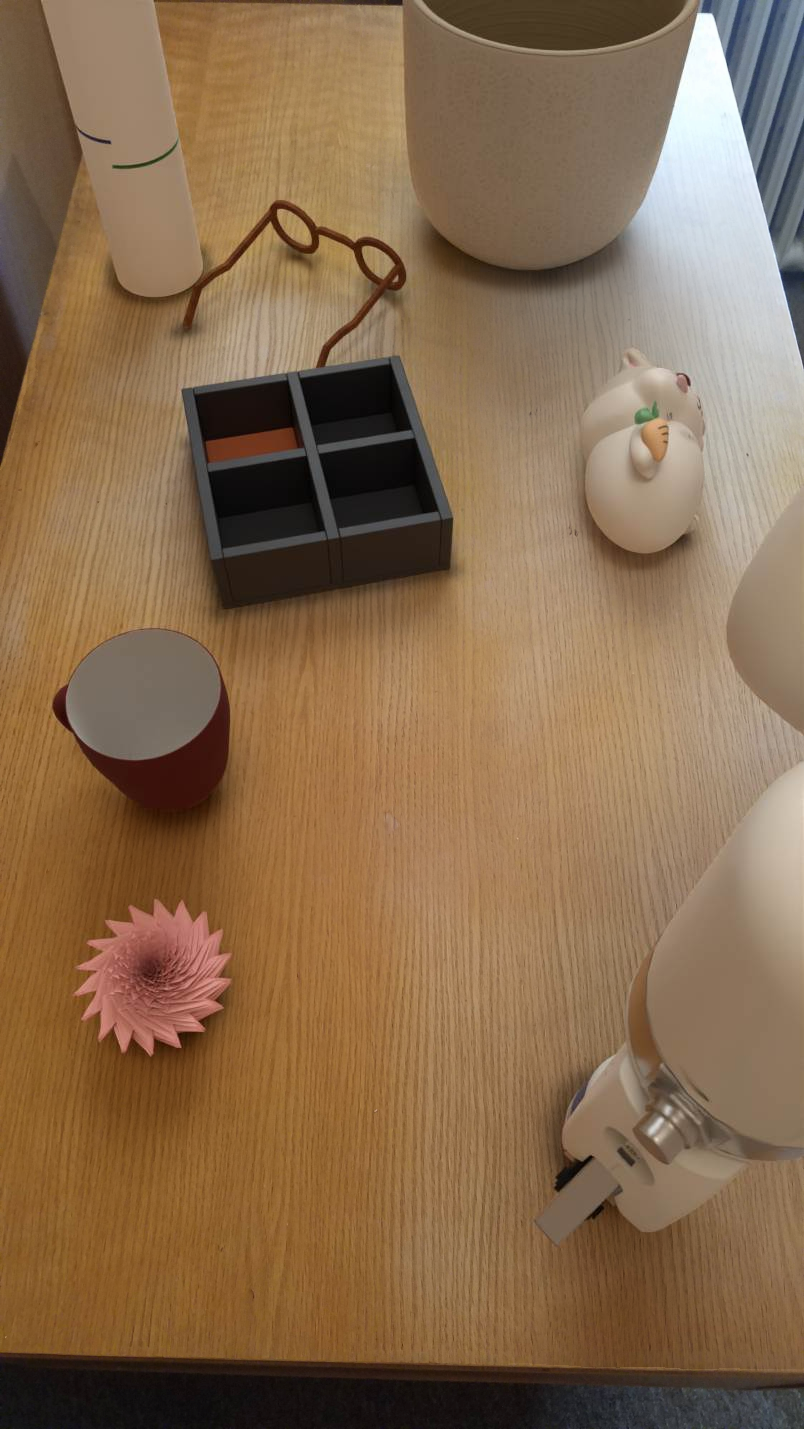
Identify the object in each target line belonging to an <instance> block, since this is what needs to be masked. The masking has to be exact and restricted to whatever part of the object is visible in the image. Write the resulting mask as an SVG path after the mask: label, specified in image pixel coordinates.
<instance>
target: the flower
mask: <svg viewBox="0 0 804 1429" xmlns="http://www.w3.org/2000/svg"><path fill="white" fill-rule="evenodd" d="M127 908H128V911H129V914H130V915H131V920H132V922H127V921H126V922H125V921H117V920H111V919H104V922H105V924H106V926H107V927H108V928H109V929H110V930H111V931H113V933H114V934H115V935H116V936H115V937H108V938H98V939H89V940H87V942H86V943H85V944H86V945H88V946H90V947H93V948H94V949H96V950H98V951H101V952H100V953H99V954H98V955H96V956H95V957H93V958H91V959H90V960H87V961H85V962H84V963H81V964H79V965H76V966H75V968H74V969H75V970H77V971H88V972H91V973H92V972H93V973H92V974H91V975H89V977H88V978H87V979H86V981H85V982H84V983H83V984H82V985H81V986H80V987H79V989H77V990H76V991H75V992H74V993H73V996H72V997H76V998H77V997H81V996H84V995H85V996H86V995H88V994H93V993H95V994H94V996H93V998H92V1000H91V1001H90V1003H89V1004H88V1007H87V1008H86V1010H85V1012H84V1014H83V1015H82V1017H81V1019H80V1022H86V1021H87V1020H89V1019H91V1018H93V1017H94V1016H95V1015H97V1014H98V1013H100V1030H99V1034H98V1038H97V1040H98V1043H101V1042H102V1041H103V1040H104V1039H105V1037H106V1036H107V1035H108V1034H109V1033H110V1032H111V1030H114V1033H115V1036H116V1038H117V1041H118V1044H119V1046H120V1050H121V1054H124V1055H125V1054H126V1052H127V1051H128V1048H129V1045H130V1042H131V1040H132V1039H133V1040H134V1041H135V1042H136V1043H137V1044H138V1045H139V1046H140V1047H141V1048H143V1049H144V1050H145V1051H146V1052H147V1053H148V1055H149V1056H150V1057H152V1055H154V1049H155V1040H157V1041H158V1042H159V1041H160V1042H162V1043H163V1044H164V1043H165V1044H167V1045H169V1046H171V1047H174V1048H177V1049H180V1048H181V1049H182V1045H181V1041H180V1039H179V1035H178V1034H180V1033H189V1032H190V1033H191V1032H194V1033H198V1032H199V1033H206V1032H205V1031H206V1028H205V1027H204V1026H203V1024H201V1023H200V1021H201V1020H203V1019H205V1017H208V1016H210V1015H212V1014H214V1013H216V1012H219V1011H221V1010H222V1009H224V1005H222V1004H220V1003H219V1002H217V1001H216V1000H217V999H218V997H219V996H220V995H221V994H222V993H223V992H225V990H226V989H227V988H228V987H229V986H230V985H231V984H232V983H233V980H234V978H227V977H220V976H221V974H222V972H223V971H224V969H225V968H226V966H227V965H228V963H229V961H230V959H231V958H232V956H233V955H234V953H233V952H232V951H229V952H226V953H222V954H220V949H221V943H222V938H223V933H224V929H223V928H220V929H219V930H217V931H215V932H213V933H212V934H210V929H209V928H210V927H209V922H208V915H207V914H208V913H207V912H206V911H205V910H203V911H202V912H201V914H200V915H199V916H198V917H197V918H196V919H195V921H193V920H192V918H191V916H190V914H189V911H188V909H187V908H186V906H185V903H184V900H183V899H181V900H180V901H179V903H178V906H177V908H176V911H175V913H174V916H173V914H171V912H170V911H168V909H167V908H166V907H165V905H163V903H162V902H161V901H160V900H159V899H158V898H157V899H156V898H153V915H152V914H149V913H147V912H146V911H142V910H140V909H138V908H136V907H135V906H133V905H132V904H130V905H129V906H127Z"/></svg>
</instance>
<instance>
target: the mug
mask: <svg viewBox="0 0 804 1429" xmlns="http://www.w3.org/2000/svg"><path fill="white" fill-rule="evenodd" d="M230 705H231V704H230V700H229V695H228V691H227V687H226V683H225V680H224V678H223V675H222V672H221V669H220V667H219V664H218V662H217V660H216V658H215V657H214V656H213V654H212V653H211V652H210V651H209V649H208V648H207V647H205V646H204V645H203V644H202V643H201V642H200V641H198V640H197V639H195V638H193V637H192V636H190V635H188V634H185V633H183V632H180V631H176V630H173V629H167V628H158V627H151V628H150V627H149V628H139V629H138V628H137V629H133V630H129V631H126V632H123V633H119V634H117V635H115V636H113V637H110V638H108V639H107V640H105V641H103V642H101V643H100V644H98V645H97V646H96V647H94V648H92V649H91V650H90V651H89V652H88V653H87V654H86V655H85V656H84V657H83V658H82V659H81V660H80V662H79V663H78V664H77V666H76V667H75V669H74V670H73V672H72V674H71V675H70V678H69V680H68V683H67V684H65V685H64V686H62V687H61V688H59V689H58V691H57V692H56V693H55V695H54V697H53V700H52V706H51V708H52V711H53V714H54V716H55V718H56V719H57V720H58V722H59V723H60V724H61V725H62V726H63V727H64V728H65V729H66V730H68V731H69V732H70V733H71V734H72V735H73V736H74V739H75V741H76V742H77V745H78V746H79V747H80V750H81V751H82V753H83V754H84V756H85V757H86V758H87V760H88V762H89V763H90V764H91V765H92V766H93V767H94V768H95V769H96V770H97V771H98V772H99V773H100V774H101V775H102V776H104V778H106V780H108V781H109V783H111V784H112V785H113V786H114V787H116V788H117V789H118V790H119V791H120V792H121V793H123V794H124V795H125V796H126V797H127V798H129V799H130V800H131V801H132V802H134V803H136V804H138V805H140V806H142V807H144V808H147V809H150V810H154V811H160V812H178V811H183V810H187V809H190V808H192V807H194V806H197V805H198V804H200V803H201V802H203V801H204V800H205V799H207V798H208V796H210V795H211V794H212V793H213V792H214V791H215V790H216V788H217V787H218V786H219V784H220V782H221V781H222V779H223V777H224V775H225V772H226V769H227V766H228V762H229V753H230V733H231V706H230Z"/></svg>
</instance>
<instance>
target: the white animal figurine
mask: <svg viewBox="0 0 804 1429" xmlns="http://www.w3.org/2000/svg"><path fill="white" fill-rule="evenodd" d="M691 382H692V381H691V379H690V376H689V375H687V374H686V373H684V372H675V371H673V370H671V369H667V368H664V367H659V366H656V365H653V364H652V363H651V362H650V360H648V358H647V357H646V356H645V355H644V354H643V353H642V352H641V351H639V349H637V348H634V347H629V348H626V350H624V351H623V353H622V355H621V359H620V364H619V369H618V373H616V374H615V375H614V376H612V377H611V378H610V379H609V380H607V381H606V382H605V384H604V385H603V386H602V387H601V388H600V389H599V390H598V391H597V393H596V394H595V396H594V397H593V398H592V400H591V402H590V403H589V405H588V407H587V408H586V410H585V412H584V414H583V416H582V419H581V423H580V426H579V427H580V428H579V441H580V442H579V443H580V447H581V451H582V454H583V457H584V458H583V459H584V460H585V462H586V468H585V476H584V492H585V498H586V502H587V506H588V509H589V512H590V514H591V516H592V518H593V520H594V523H596V525H597V527H598V528H599V530H600V531H601V532H602V533H603V534H604V535H605V536H606V538H608V539H609V540H610V541H611V542H612V543H613V544H615V545H616V546H618V547H620V548H622V549H624V550H626V551H629V552H632V553H636V554H652V553H657V552H660V551H662V550H665V549H666V548H669V547H670V546H672V545H673V544H674V543H675V542H677V540H678V539H680V538H681V537H682V536H683V535H686V534H690V533H693V531H694V530H695V528H696V525H697V524H698V523H700V522H701V521H700V518H699V516H698V515H697V512H698V509H699V506H700V503H701V500H702V496H703V491H704V485H705V463H704V457H703V451H704V446H705V444H704V442H705V441H704V436H705V433H706V422H705V420H704V414H703V413H704V412H703V408H702V404H701V400H700V399H701V398H700V397H699V395H697V394H696V392H695V391H694V389H693V388H692V386H691V385H692V383H691Z"/></svg>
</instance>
